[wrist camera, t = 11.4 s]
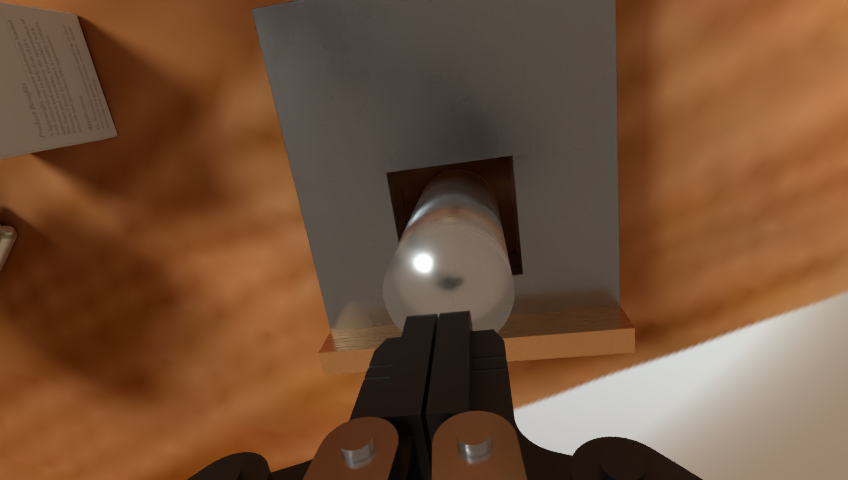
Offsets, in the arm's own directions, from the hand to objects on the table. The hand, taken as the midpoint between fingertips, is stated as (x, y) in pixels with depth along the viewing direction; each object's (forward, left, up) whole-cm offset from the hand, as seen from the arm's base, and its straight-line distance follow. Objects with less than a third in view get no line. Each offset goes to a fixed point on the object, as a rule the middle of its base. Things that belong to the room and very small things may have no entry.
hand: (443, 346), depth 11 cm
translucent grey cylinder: (0, 0, -13) cm, 13 cm away
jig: (-2, 0, -13) cm, 13 cm away
